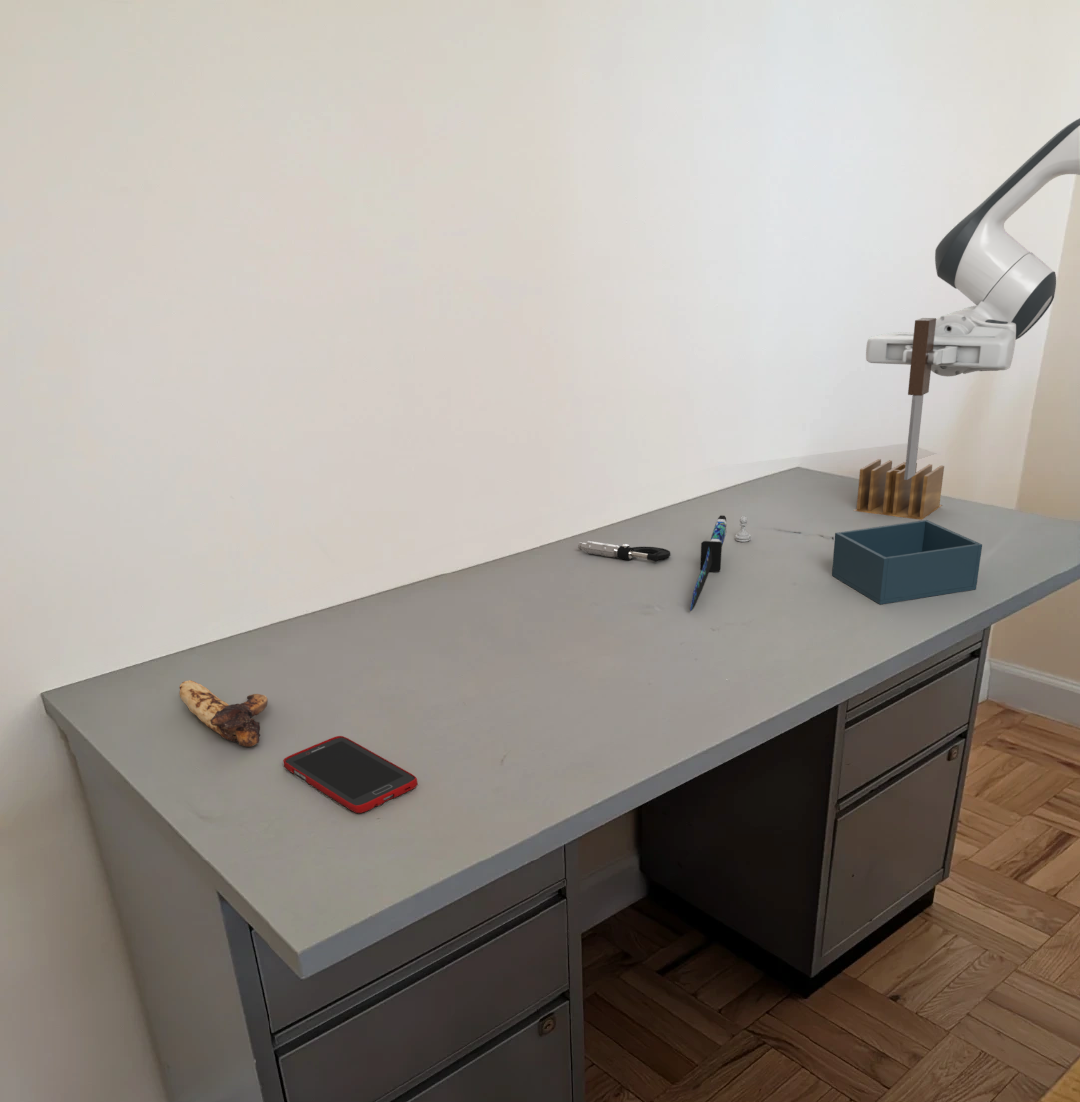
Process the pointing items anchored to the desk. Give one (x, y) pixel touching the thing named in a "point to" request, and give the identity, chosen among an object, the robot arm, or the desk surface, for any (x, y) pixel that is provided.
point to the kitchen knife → (918, 386)
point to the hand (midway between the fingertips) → (919, 357)
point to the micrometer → (623, 551)
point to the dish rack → (899, 490)
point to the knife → (710, 557)
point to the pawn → (743, 531)
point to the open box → (906, 561)
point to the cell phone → (350, 773)
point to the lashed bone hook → (225, 713)
